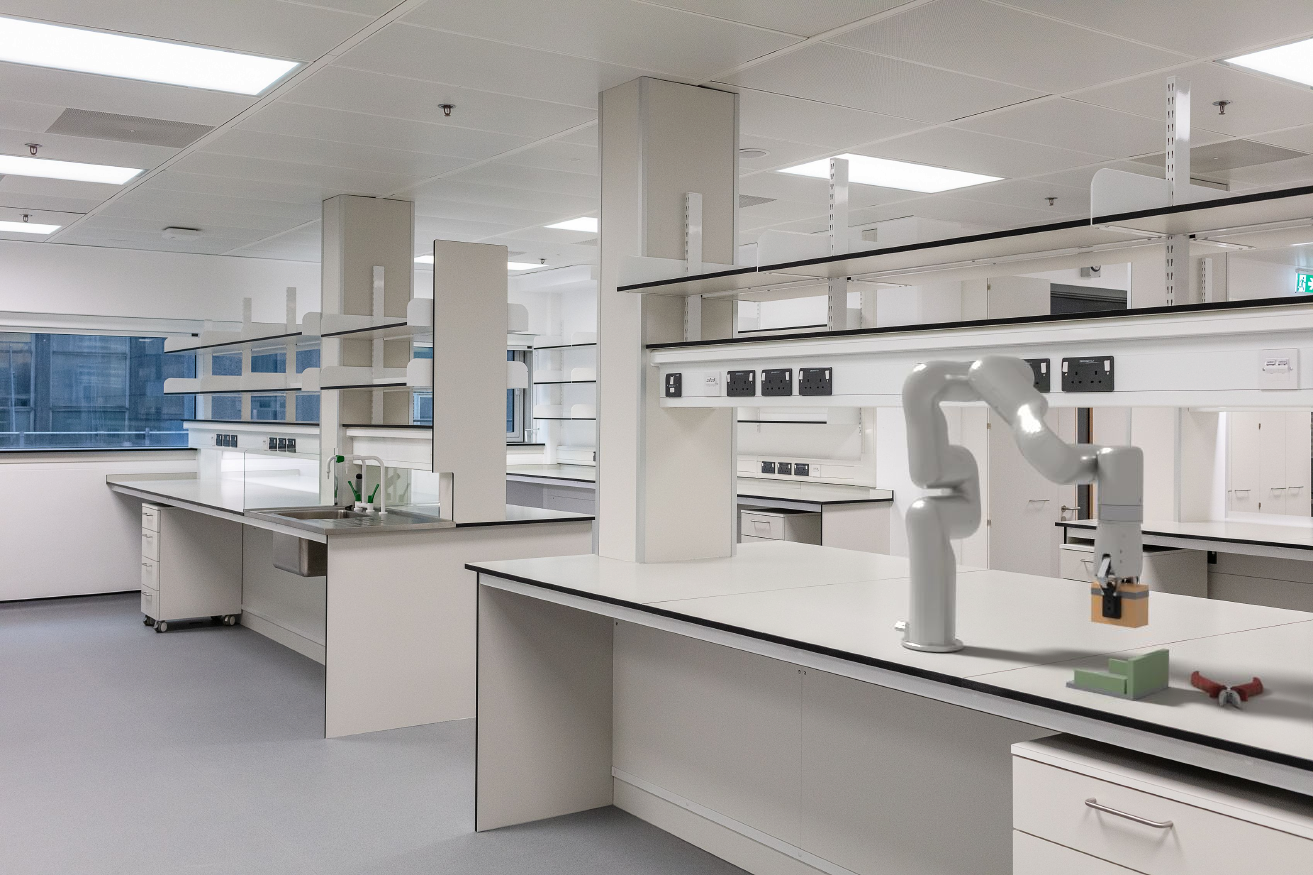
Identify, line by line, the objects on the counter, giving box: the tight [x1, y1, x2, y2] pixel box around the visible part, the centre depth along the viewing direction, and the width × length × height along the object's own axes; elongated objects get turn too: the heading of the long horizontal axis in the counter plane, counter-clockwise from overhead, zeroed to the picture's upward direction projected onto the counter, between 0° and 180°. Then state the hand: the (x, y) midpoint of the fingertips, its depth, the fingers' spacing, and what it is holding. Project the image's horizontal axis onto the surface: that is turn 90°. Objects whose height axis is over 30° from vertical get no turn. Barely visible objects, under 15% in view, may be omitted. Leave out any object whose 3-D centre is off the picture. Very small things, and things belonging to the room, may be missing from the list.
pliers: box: [1190, 670, 1264, 708], centre depth 183 cm, size 12×20×3 cm, turn 154°
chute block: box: [1090, 581, 1150, 629], centre depth 189 cm, size 8×5×7 cm, turn 41°
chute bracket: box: [1065, 648, 1170, 701], centre depth 189 cm, size 12×14×7 cm
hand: (1119, 614), depth 189 cm, fingers closed on chute block, 5 cm apart
